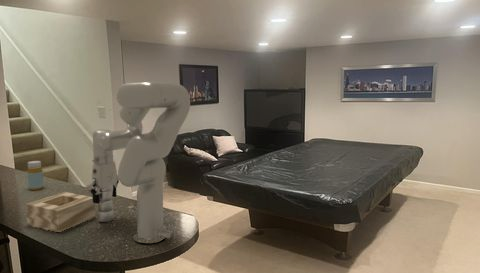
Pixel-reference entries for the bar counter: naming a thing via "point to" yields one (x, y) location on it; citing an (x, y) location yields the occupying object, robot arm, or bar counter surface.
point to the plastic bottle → (105, 204)
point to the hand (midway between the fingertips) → (104, 199)
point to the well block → (60, 211)
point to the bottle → (35, 175)
